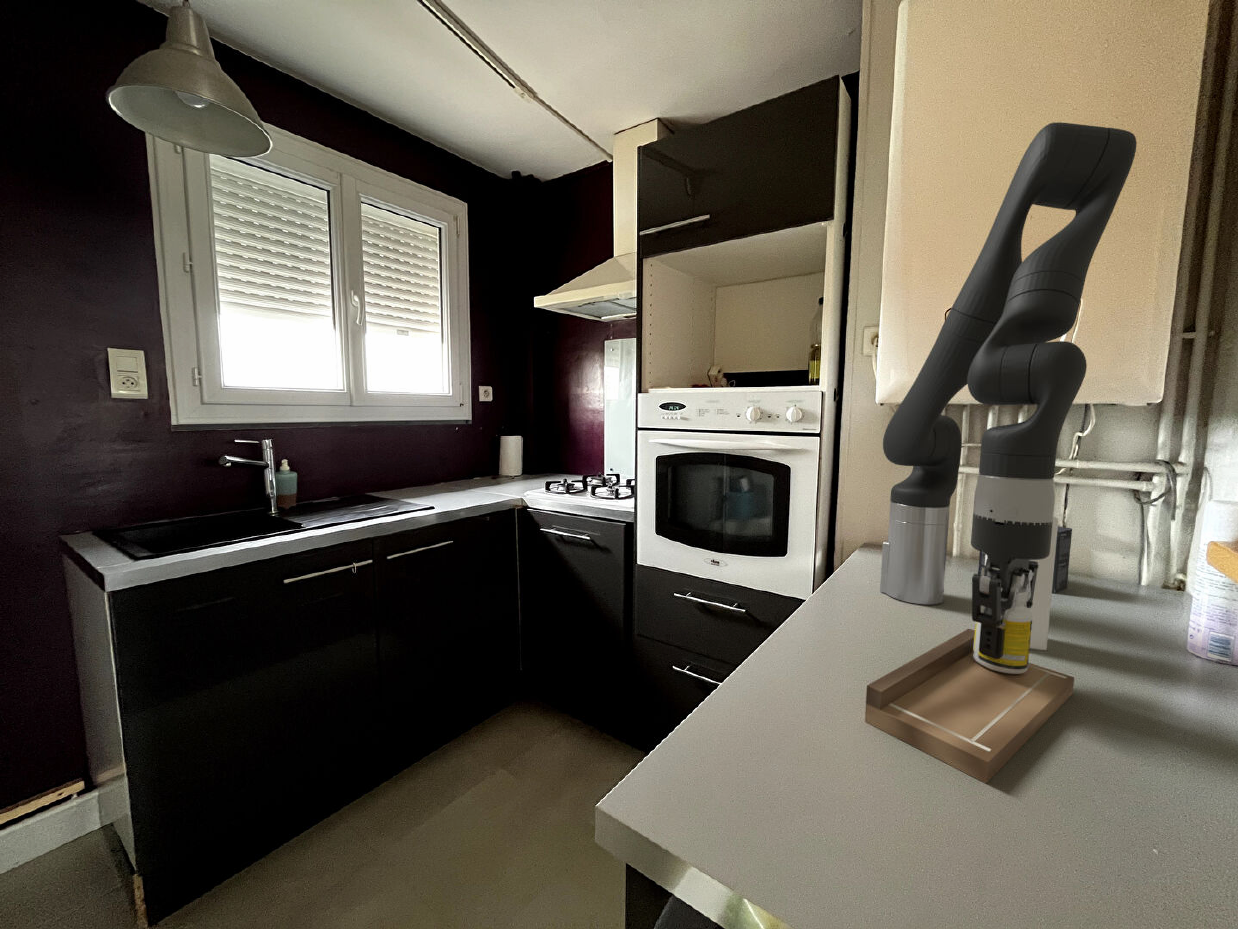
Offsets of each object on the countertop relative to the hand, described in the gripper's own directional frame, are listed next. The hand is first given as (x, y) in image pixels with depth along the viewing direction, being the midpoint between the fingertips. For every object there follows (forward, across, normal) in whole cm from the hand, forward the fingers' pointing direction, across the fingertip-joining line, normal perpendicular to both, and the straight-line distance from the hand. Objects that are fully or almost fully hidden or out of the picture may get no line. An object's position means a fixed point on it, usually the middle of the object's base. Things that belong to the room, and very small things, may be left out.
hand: (1000, 648), depth 61 cm
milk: (+4, -16, -4) cm, 17 cm away
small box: (+5, -51, -12) cm, 53 cm away
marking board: (+4, +9, +1) cm, 10 cm away
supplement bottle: (+2, 0, 0) cm, 2 cm away
